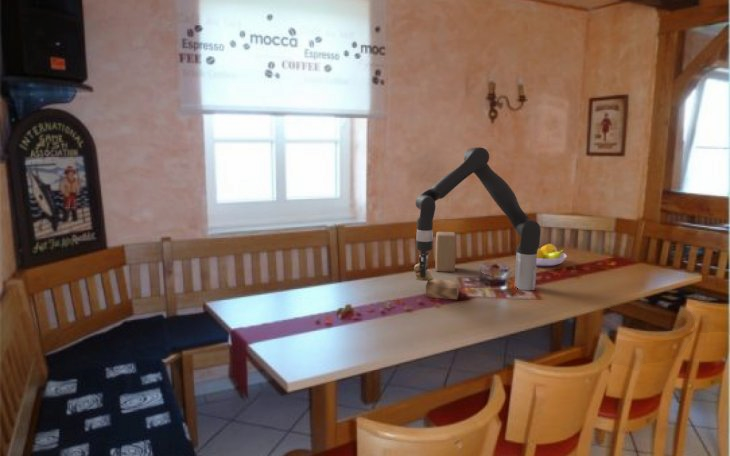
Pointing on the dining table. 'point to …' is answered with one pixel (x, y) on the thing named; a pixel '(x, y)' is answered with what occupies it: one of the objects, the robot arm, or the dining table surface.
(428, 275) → the chocolate bunny
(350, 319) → the dining table surface
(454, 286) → the oak step
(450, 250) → the wooden block
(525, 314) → the dining table surface
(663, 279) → the dining table surface
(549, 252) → the fruit bowl
